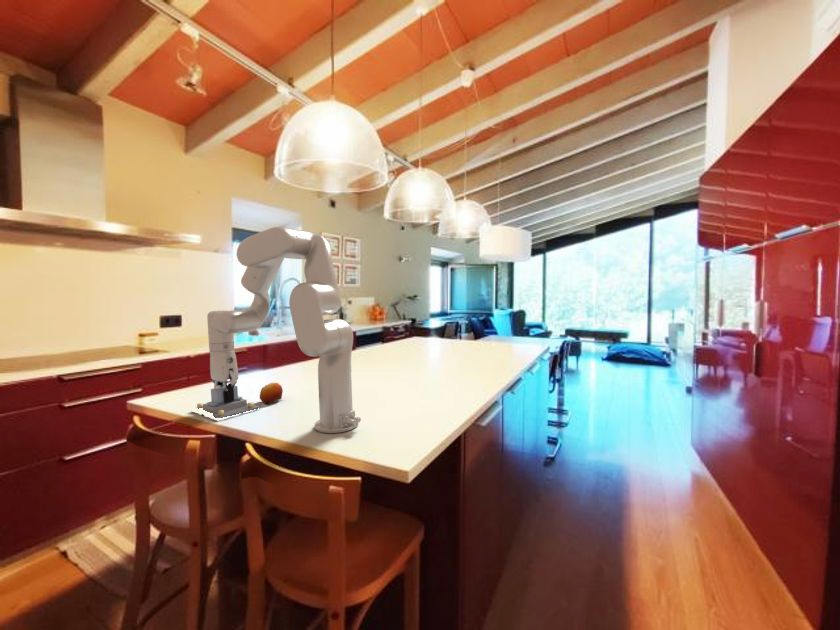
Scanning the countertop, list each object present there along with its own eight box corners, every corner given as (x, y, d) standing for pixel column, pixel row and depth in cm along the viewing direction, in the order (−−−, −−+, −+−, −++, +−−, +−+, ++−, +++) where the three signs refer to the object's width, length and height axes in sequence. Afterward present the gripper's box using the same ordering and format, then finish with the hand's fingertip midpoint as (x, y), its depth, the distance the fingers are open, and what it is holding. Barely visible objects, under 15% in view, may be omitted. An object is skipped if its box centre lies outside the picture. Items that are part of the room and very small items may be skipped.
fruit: (283, 400, 138) (270, 381, 138) (265, 412, 139) (252, 393, 138) (291, 394, 146) (279, 376, 146) (273, 405, 147) (262, 387, 146)
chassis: (259, 409, 133) (259, 400, 133) (218, 421, 122) (217, 412, 122) (231, 401, 144) (230, 393, 143) (191, 411, 132) (190, 403, 132)
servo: (242, 405, 135) (241, 382, 135) (213, 412, 127) (211, 388, 127) (236, 403, 138) (235, 380, 137) (207, 410, 130) (205, 387, 129)
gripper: (246, 347, 129) (249, 401, 131) (219, 344, 139) (222, 394, 140) (223, 350, 123) (227, 407, 124) (198, 347, 133) (201, 399, 134)
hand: (224, 400), depth 132 cm, fingers open, 4 cm apart
